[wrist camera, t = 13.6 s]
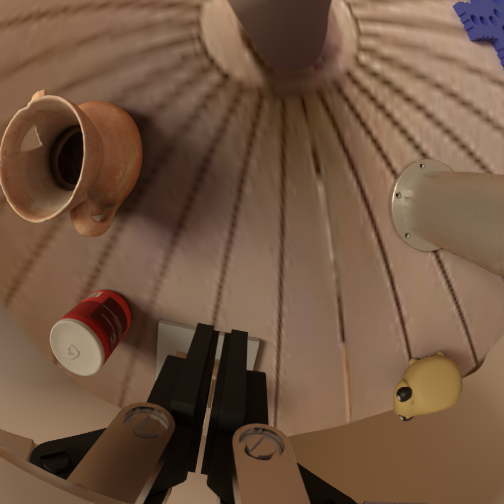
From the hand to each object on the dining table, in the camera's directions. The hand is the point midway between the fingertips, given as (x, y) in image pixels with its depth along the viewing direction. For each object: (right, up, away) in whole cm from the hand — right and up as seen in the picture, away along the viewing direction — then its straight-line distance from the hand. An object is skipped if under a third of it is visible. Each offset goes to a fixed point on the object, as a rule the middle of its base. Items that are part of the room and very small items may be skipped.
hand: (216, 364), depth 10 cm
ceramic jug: (-19, +16, +26) cm, 36 cm away
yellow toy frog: (+28, -16, +34) cm, 47 cm away
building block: (+46, +45, +19) cm, 67 cm away
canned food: (-20, -5, +32) cm, 37 cm away
